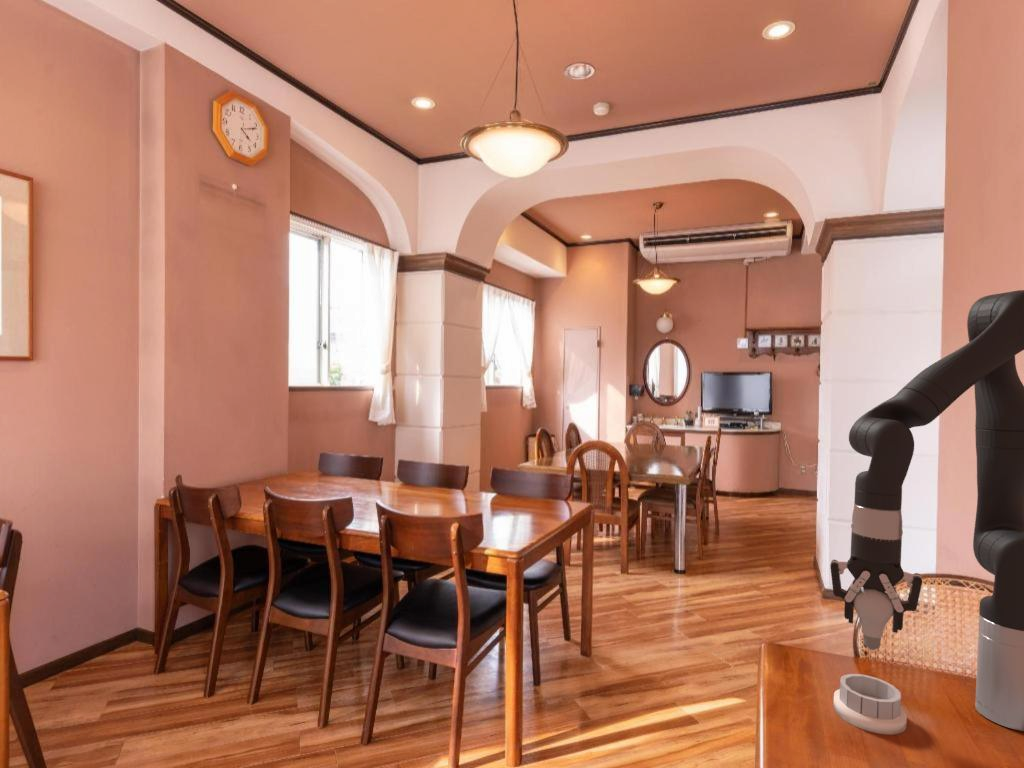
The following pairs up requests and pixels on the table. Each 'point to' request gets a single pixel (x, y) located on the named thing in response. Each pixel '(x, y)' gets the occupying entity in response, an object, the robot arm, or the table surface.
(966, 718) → the table surface
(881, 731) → the lamp base
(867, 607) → the lightbulb
